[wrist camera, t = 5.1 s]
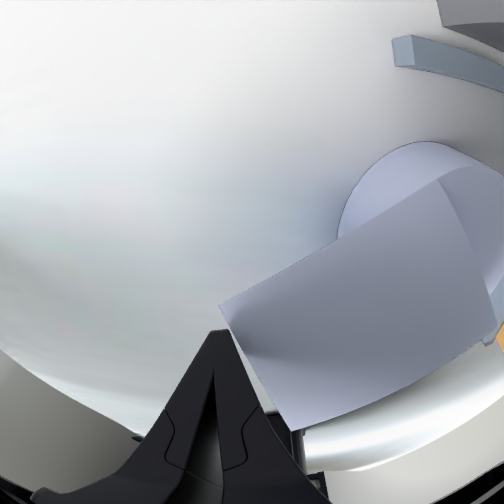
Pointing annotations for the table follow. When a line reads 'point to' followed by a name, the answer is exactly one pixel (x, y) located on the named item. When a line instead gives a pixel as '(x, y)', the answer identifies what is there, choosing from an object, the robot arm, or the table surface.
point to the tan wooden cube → (501, 337)
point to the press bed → (462, 67)
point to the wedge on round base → (380, 288)
